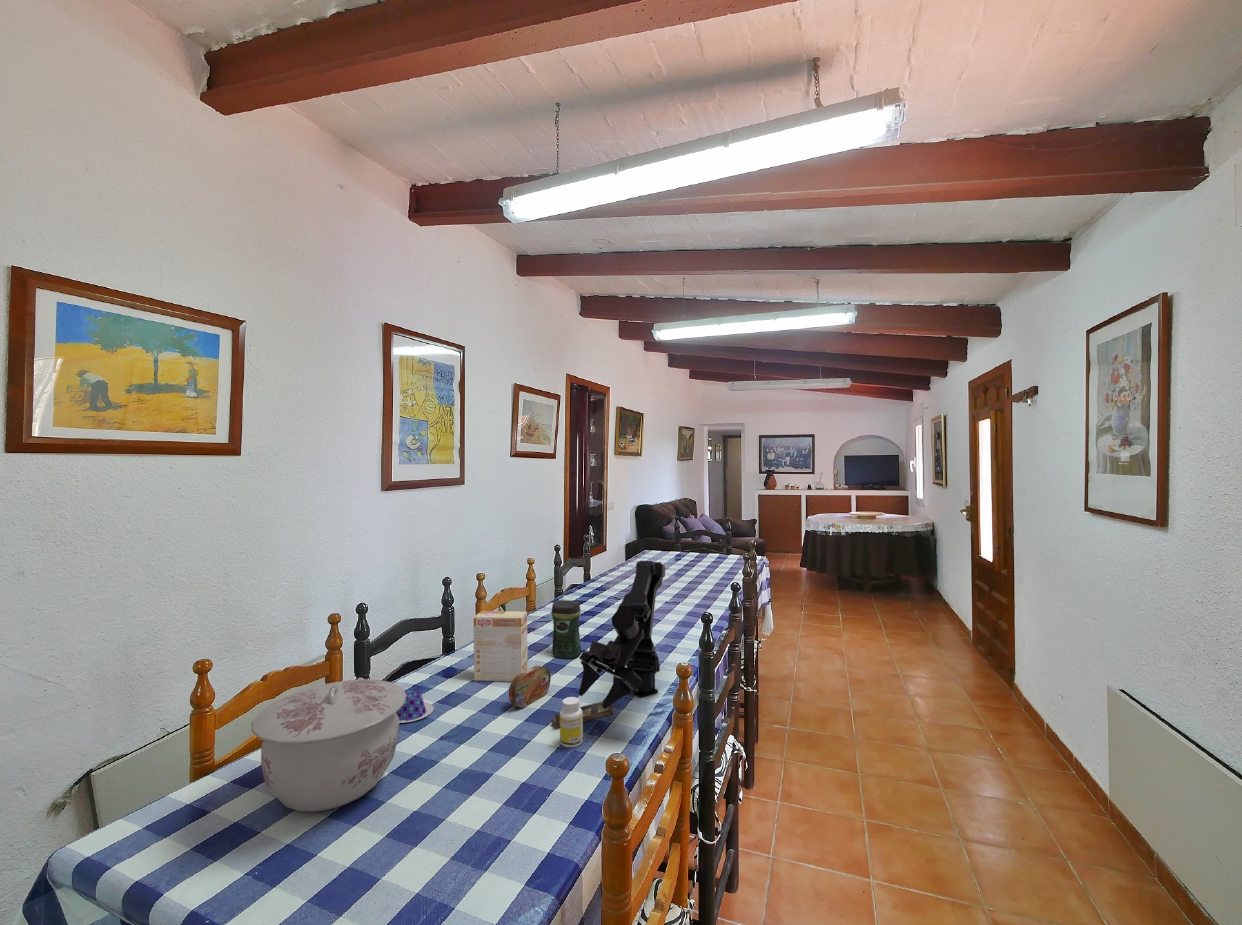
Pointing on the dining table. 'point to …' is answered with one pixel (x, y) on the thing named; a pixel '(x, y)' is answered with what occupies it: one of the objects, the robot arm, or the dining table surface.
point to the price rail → (587, 713)
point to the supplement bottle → (571, 723)
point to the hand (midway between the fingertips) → (591, 701)
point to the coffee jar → (566, 629)
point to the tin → (529, 686)
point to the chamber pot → (329, 742)
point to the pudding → (414, 707)
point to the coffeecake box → (500, 645)
